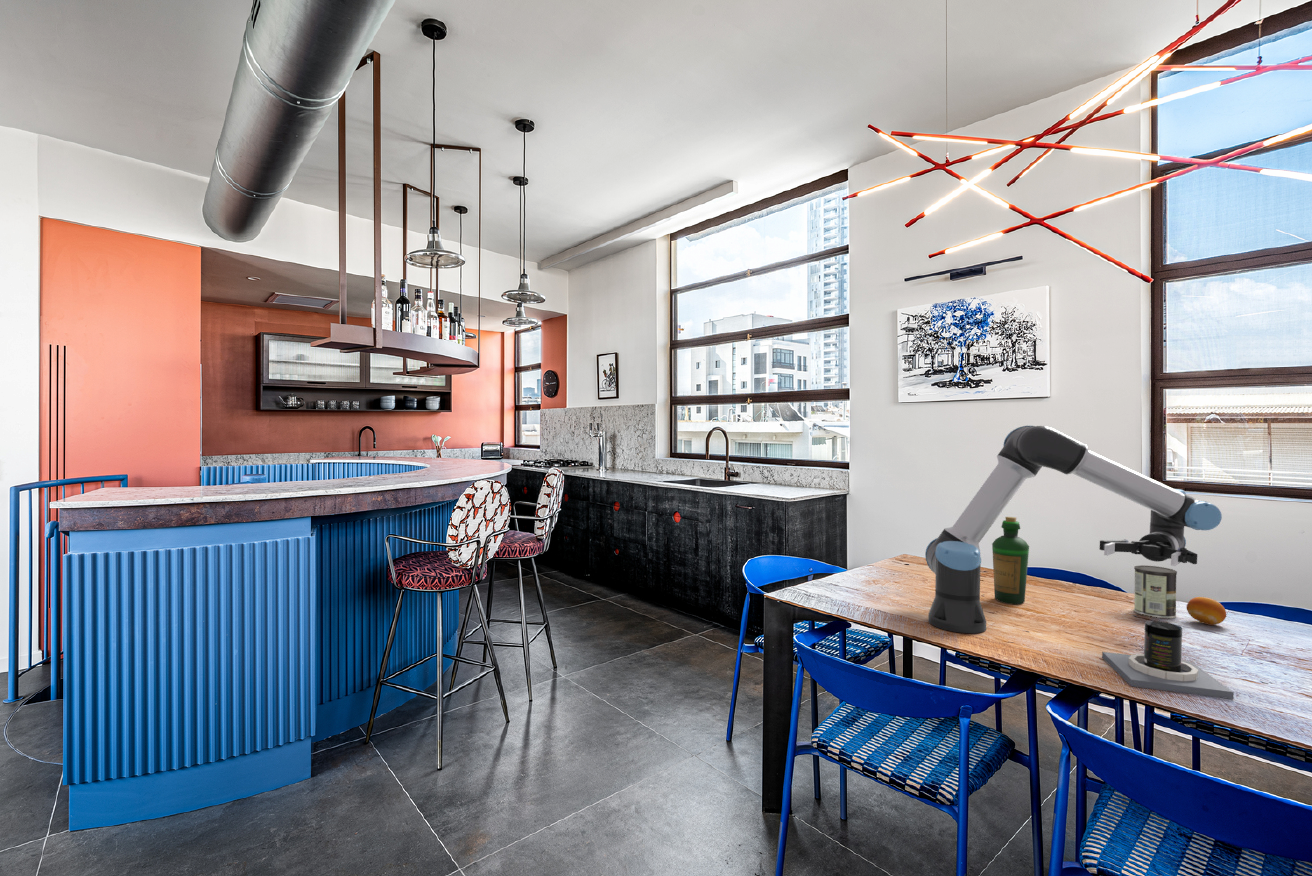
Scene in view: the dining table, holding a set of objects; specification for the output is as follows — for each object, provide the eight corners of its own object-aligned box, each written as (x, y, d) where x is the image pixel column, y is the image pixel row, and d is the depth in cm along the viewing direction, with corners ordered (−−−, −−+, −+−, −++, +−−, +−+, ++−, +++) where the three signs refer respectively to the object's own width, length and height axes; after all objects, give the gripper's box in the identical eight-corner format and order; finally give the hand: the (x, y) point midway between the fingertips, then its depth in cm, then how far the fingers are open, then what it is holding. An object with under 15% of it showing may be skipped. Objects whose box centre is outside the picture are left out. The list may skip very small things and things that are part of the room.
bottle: (984, 597, 206) (985, 515, 205) (1013, 596, 207) (1015, 515, 206) (1004, 606, 195) (1006, 519, 195) (1036, 605, 196) (1037, 519, 196)
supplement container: (1186, 678, 135) (1187, 631, 135) (1149, 673, 138) (1150, 627, 138) (1174, 667, 142) (1175, 622, 141) (1139, 662, 144) (1140, 619, 144)
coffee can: (1163, 610, 193) (1163, 566, 192) (1184, 620, 182) (1185, 573, 182) (1126, 607, 195) (1127, 564, 194) (1145, 617, 185) (1146, 571, 184)
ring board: (1131, 686, 134) (1131, 672, 134) (1102, 657, 151) (1102, 645, 151) (1233, 699, 128) (1233, 685, 128) (1191, 667, 145) (1191, 655, 145)
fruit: (1215, 621, 181) (1216, 595, 181) (1232, 630, 173) (1232, 602, 173) (1181, 618, 184) (1181, 592, 184) (1195, 626, 176) (1196, 599, 176)
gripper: (1218, 569, 158) (1203, 580, 144) (1103, 551, 177) (1080, 560, 163) (1219, 540, 158) (1204, 549, 144) (1104, 526, 177) (1081, 532, 163)
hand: (1138, 555), depth 154 cm, fingers open, 13 cm apart
